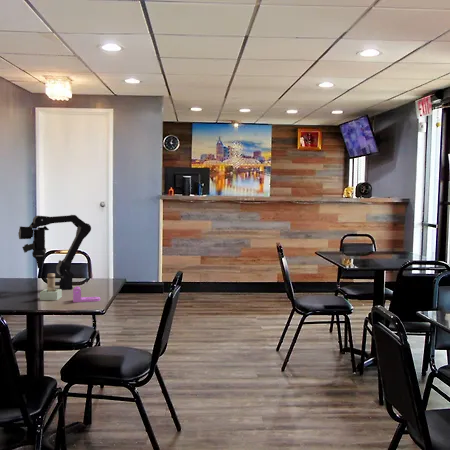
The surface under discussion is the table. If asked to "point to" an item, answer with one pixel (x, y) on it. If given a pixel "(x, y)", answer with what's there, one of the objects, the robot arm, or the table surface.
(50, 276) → the beige cylinder
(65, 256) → the robot arm
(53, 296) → the square frame
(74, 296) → the bracket
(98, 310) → the table surface
